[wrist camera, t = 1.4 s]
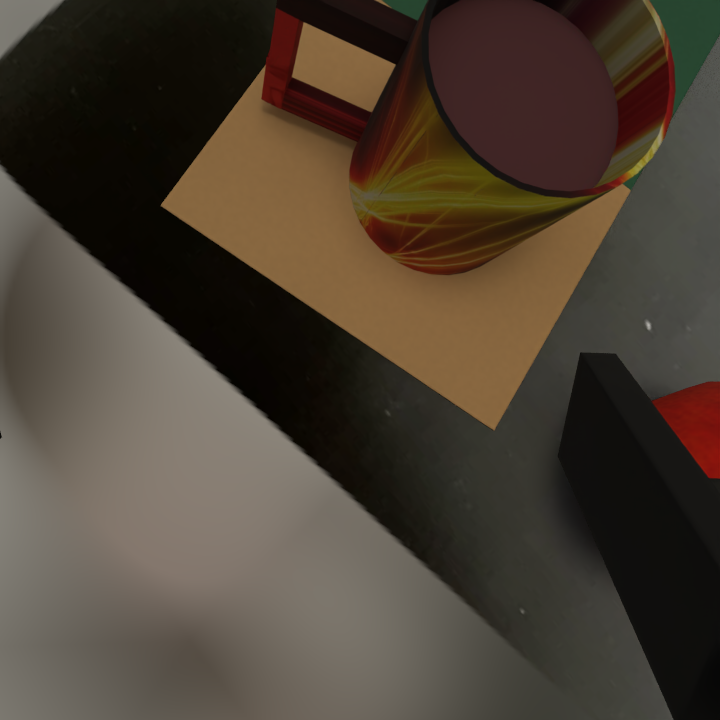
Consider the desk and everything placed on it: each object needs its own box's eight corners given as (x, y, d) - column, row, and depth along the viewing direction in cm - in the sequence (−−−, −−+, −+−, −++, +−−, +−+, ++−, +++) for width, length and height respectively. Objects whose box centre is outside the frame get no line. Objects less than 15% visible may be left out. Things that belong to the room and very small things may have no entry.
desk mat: (160, 206, 31) (160, 205, 31) (485, -230, 37) (486, -231, 37) (493, 430, 33) (494, 430, 33) (745, -12, 40) (746, -13, 40)
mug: (258, 94, 32) (280, -90, 21) (512, 97, 35) (657, -62, 24) (275, 284, 32) (308, 205, 20) (532, 270, 35) (692, 195, 23)
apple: (633, 350, 36) (839, 315, 24) (738, 485, 36) (991, 516, 24) (509, 471, 33) (669, 498, 22) (624, 612, 34) (841, 714, 22)
